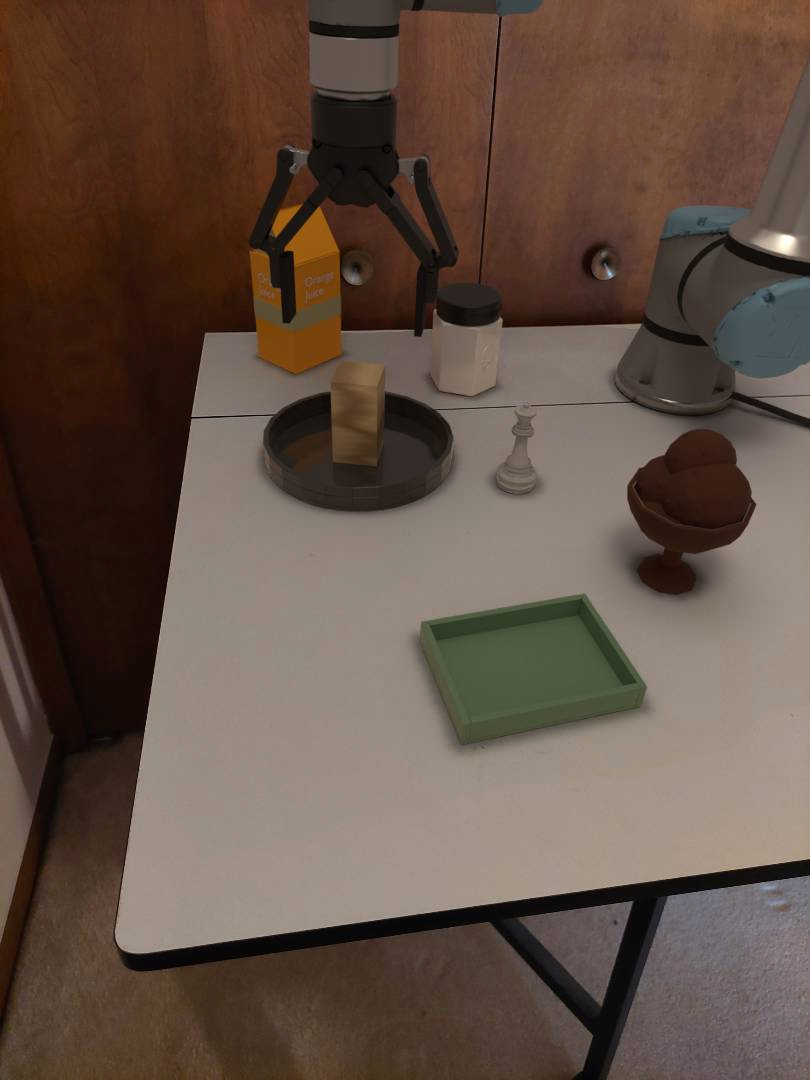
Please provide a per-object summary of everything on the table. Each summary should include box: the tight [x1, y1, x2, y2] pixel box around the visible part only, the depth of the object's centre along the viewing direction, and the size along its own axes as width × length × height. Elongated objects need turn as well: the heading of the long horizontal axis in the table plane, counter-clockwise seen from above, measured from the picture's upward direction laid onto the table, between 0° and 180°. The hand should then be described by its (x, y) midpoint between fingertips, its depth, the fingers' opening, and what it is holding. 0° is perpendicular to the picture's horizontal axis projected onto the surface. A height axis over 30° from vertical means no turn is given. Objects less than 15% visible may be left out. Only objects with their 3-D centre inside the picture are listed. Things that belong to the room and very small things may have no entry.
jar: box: [429, 282, 504, 397], centre depth 103 cm, size 9×8×12 cm
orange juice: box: [249, 202, 342, 375], centre depth 105 cm, size 8×9×20 cm
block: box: [329, 360, 386, 467], centre depth 88 cm, size 5×5×10 cm
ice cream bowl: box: [626, 428, 758, 596], centre depth 72 cm, size 11×11×15 cm
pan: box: [262, 390, 455, 512], centre depth 91 cm, size 21×21×3 cm
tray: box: [419, 592, 648, 746], centre depth 66 cm, size 15×11×2 cm
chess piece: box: [495, 401, 538, 495], centre depth 85 cm, size 4×4×10 cm
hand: (353, 325), depth 82 cm, fingers open, 13 cm apart
